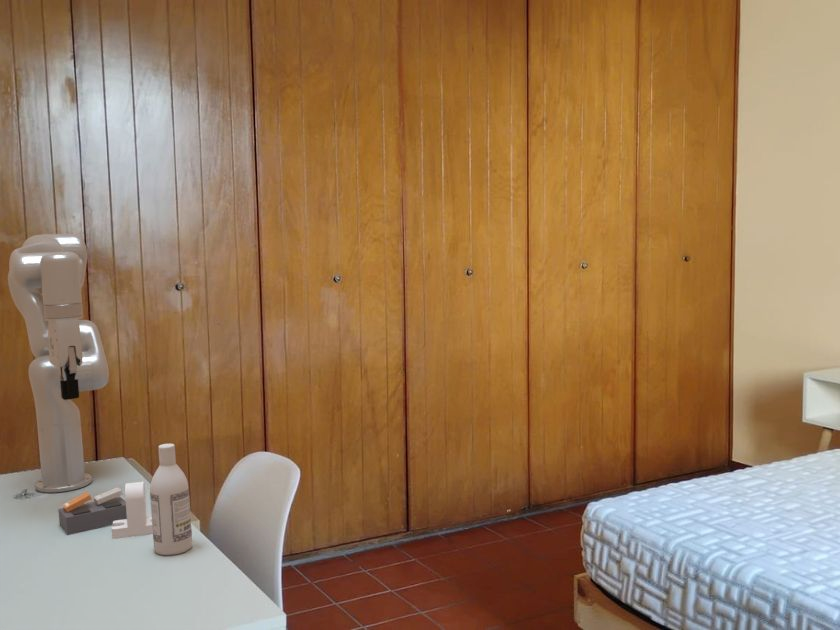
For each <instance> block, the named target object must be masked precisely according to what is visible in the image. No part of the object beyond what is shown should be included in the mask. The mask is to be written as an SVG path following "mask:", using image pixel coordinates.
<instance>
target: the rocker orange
mask: <svg viewBox="0 0 840 630" xmlns="http://www.w3.org/2000/svg"><path fill="white" fill-rule="evenodd" d="M92 499H93V498H92V496H91V495H90V493H89V492H87V491H85V492H84V493H81V494H80V495H78V496H76V497H74V498H73V499H70V500H69V501H67V502H65V503H63V504H62V508H64V509H65V510H66V512H69V511H71V510H73V509H75V508H77V507H78V506H80V505H82V504H85V503H89V501H91V500H92Z"/></svg>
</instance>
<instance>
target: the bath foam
mask: <svg viewBox="0 0 840 630" xmlns="http://www.w3.org/2000/svg"><path fill="white" fill-rule="evenodd" d="M157 450H158V460H159V465H158V468H157V469H156V470H155V472H154V474H153V476H152V479H151V482H150V486H149V487H150V488H149V496H150V510H151V511H150V514H151V517H152V528H153V534H152V540H153V550H154V552H155V553H156V554H157V555H161V556H175V555H179V554H183V553H185V552H187V551H189V550H190V549H191V548H192V546H193V535H192V534H193V531H192V518H191V517H192V516H191V501H190V489H189V488H190V487H189V481H188V479H187V477H186V474H185V473H184V471H183V470H182V469H181V468H180V466H179V465H178V464H177V463H176V462H177V459H176V446H175V444H174V443H163V444H159V445H158V449H157Z"/></svg>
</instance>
